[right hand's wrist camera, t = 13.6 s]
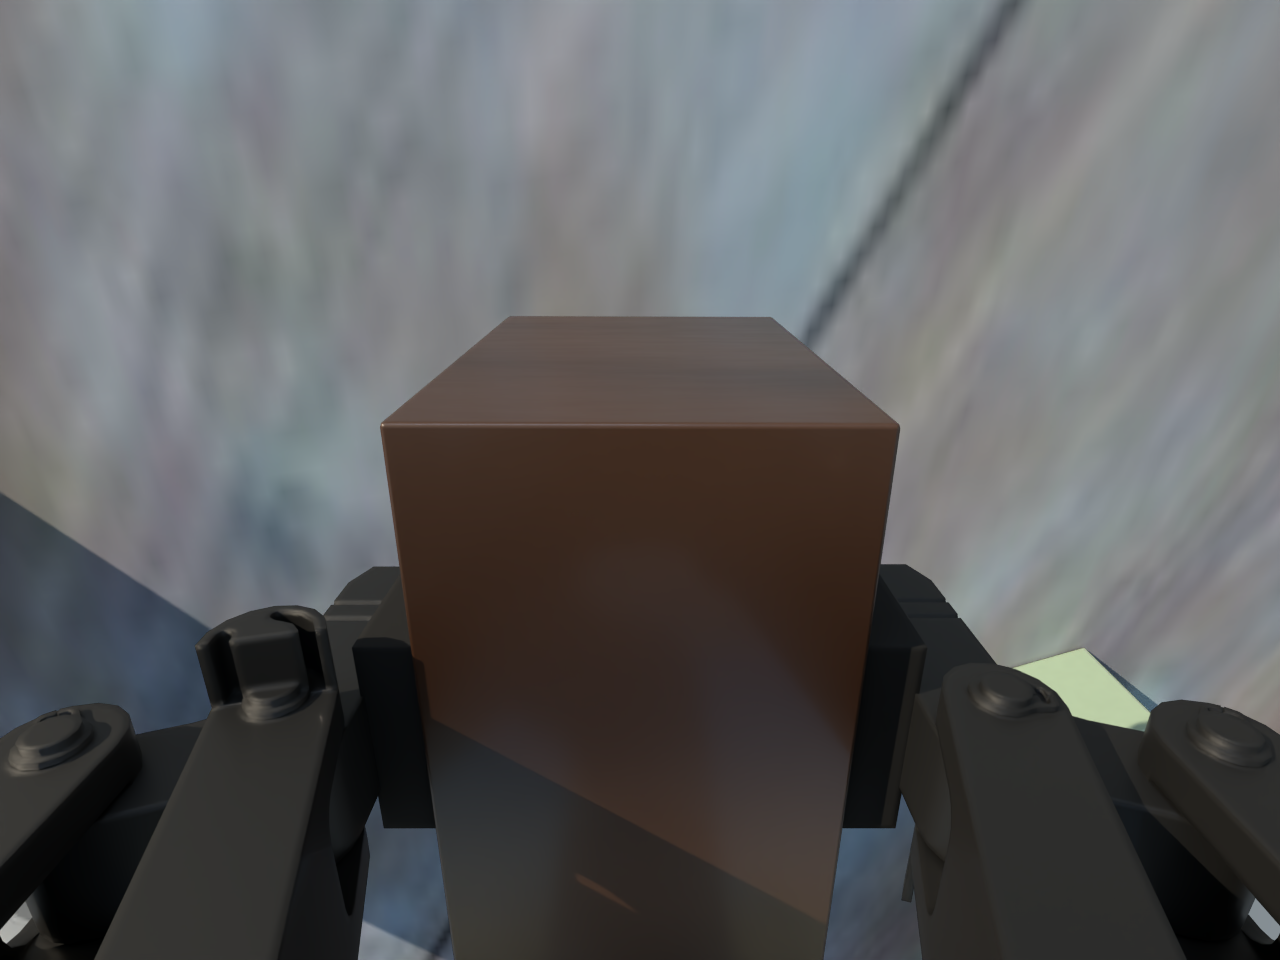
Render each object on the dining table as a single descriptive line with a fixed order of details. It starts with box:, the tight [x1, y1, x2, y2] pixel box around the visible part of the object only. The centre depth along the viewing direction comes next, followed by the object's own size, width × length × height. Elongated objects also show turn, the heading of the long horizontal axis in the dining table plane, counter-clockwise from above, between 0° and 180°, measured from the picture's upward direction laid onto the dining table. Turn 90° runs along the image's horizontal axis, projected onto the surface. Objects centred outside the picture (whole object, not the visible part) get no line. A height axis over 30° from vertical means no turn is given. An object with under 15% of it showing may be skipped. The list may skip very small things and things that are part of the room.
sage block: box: [1013, 648, 1150, 731], centre depth 29 cm, size 5×5×5 cm
